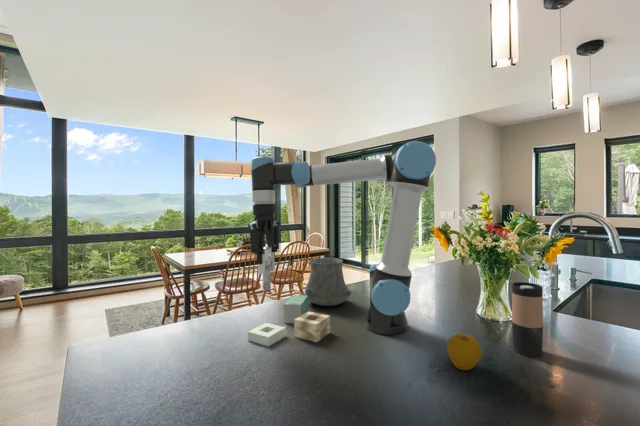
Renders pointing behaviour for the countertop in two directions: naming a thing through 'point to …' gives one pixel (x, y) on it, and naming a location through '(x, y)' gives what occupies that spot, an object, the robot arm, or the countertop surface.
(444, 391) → the countertop surface
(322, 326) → the block
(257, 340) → the stand
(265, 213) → the robot arm
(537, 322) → the travel mug
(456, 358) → the apple
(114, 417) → the countertop surface
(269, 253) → the silver peg
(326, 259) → the vessel
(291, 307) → the box
